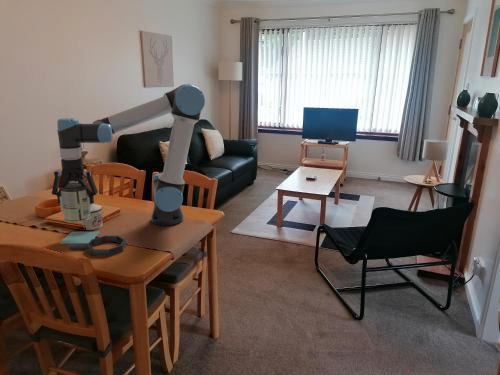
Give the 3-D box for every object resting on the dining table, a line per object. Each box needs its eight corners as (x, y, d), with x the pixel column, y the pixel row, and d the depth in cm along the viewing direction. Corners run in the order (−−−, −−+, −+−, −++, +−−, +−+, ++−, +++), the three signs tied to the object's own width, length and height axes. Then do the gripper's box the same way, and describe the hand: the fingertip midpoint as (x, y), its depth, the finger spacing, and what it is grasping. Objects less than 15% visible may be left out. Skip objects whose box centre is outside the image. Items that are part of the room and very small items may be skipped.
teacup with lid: (95, 231, 159) (92, 206, 155) (77, 229, 160) (74, 204, 157) (111, 222, 170) (109, 198, 167) (94, 220, 172) (91, 196, 168)
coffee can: (70, 214, 154) (66, 182, 150) (94, 214, 154) (91, 182, 151) (59, 222, 144) (55, 189, 140) (86, 222, 145) (82, 189, 141)
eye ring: (128, 241, 150) (128, 235, 149) (119, 255, 137) (119, 250, 136) (77, 241, 149) (77, 235, 148) (63, 256, 136) (62, 250, 135)
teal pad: (100, 232, 158) (99, 231, 158) (90, 244, 146) (90, 243, 146) (71, 232, 157) (71, 231, 157) (59, 244, 145) (59, 243, 145)
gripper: (103, 156, 147) (108, 208, 153) (46, 155, 145) (53, 207, 151) (97, 160, 139) (102, 214, 145) (37, 159, 138) (44, 213, 144)
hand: (77, 210), depth 148 cm, fingers closed on coffee can, 10 cm apart
